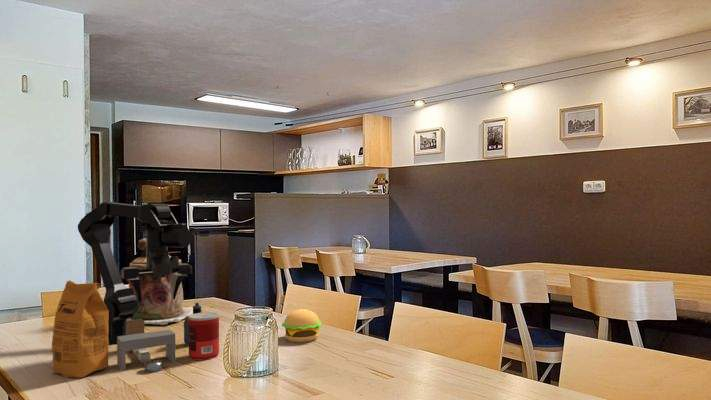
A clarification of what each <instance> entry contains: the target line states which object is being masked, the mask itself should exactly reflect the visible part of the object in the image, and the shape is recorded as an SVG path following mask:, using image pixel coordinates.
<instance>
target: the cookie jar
mask: <svg viewBox="0 0 711 400" xmlns="http://www.w3.org/2000/svg"><path fill="white" fill-rule="evenodd" d="M137 248H138V250H141V251H142V252H141V256H140V257H137V258H135V259H134V260H132V262H130V263H129V267H137V268H139V269H147V268H146V264H147V254H146V234H145V236H144V237H143V238H142V239H139V240H138V244H137ZM168 256H169V258H171V257H172V256H171V255H170V254H169V253H168ZM179 264H182V259H179ZM150 271H152V270H150ZM173 274H175V273H171V274H169V275H167V274H161V275H154V274H152V275H139V277H138V279H140V288H141V296H142V302H141V303H140V302H139V300H138V297H137V295H136V292H135V290H134V287H133V286H132V284H131V282H128V288H131V287H132V288H133V290H134V294H135V296H136V298H137V300H136V302H137V307H136V309H135V312H134V316H133V318H129V319H127V321H128V320H137V319H142V320H143V321H144V325H160V326H166V325H168V324H169V323H174V322H175V323H179V322H180V321H183V320H185V319H186V317H185V316H188V315H192V314H193V306H191V307H190V306H189V307H183V306H182V305H183V302H184V290H183V282H181V284H180V286H179V288H178V291H177V294H176V297H175V299H173V298H172V285H173Z"/></svg>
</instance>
